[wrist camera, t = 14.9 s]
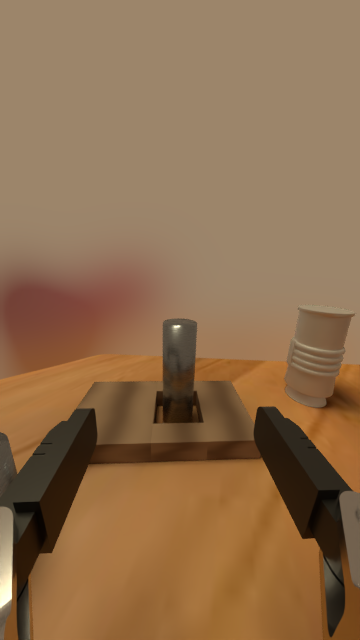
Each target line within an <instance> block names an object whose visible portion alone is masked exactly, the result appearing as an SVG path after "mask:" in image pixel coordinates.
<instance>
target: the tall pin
mask: <svg viewBox="0 0 360 640" xmlns="http://www.w3.org/2000/svg"><path fill="white" fill-rule="evenodd" d="M196 333H197V323H196V322H195V321H193V320H189V319H169V320H165V321H164V322H163V423H192V412H193V393H194V373H195V354H196V353H195V352H196Z"/></svg>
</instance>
